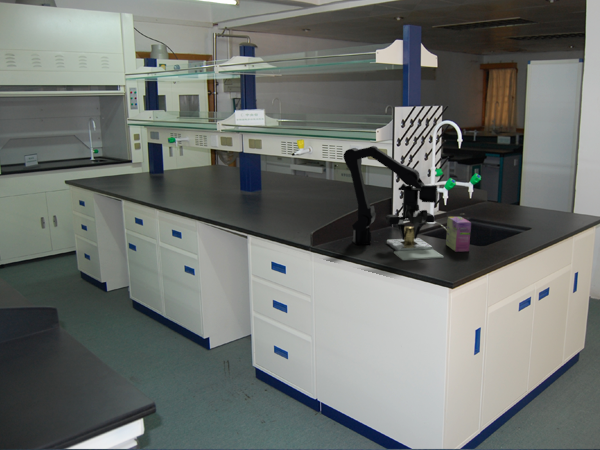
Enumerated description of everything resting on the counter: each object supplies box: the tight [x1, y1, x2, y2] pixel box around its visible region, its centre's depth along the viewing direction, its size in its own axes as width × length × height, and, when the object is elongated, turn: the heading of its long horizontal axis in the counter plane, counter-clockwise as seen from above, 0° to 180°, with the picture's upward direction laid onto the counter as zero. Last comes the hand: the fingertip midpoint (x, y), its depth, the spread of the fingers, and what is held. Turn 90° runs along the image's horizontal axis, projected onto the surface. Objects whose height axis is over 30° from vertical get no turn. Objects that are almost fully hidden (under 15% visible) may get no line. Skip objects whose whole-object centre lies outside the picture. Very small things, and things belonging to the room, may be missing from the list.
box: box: [445, 216, 472, 253], centre depth 206 cm, size 10×6×12 cm, turn 5°
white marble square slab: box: [386, 237, 433, 251], centre depth 210 cm, size 14×14×2 cm
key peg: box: [404, 225, 415, 245], centre depth 209 cm, size 4×4×8 cm
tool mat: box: [393, 248, 444, 261], centre depth 198 cm, size 16×10×1 cm, turn 99°
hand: (409, 239), depth 210 cm, fingers open, 5 cm apart
